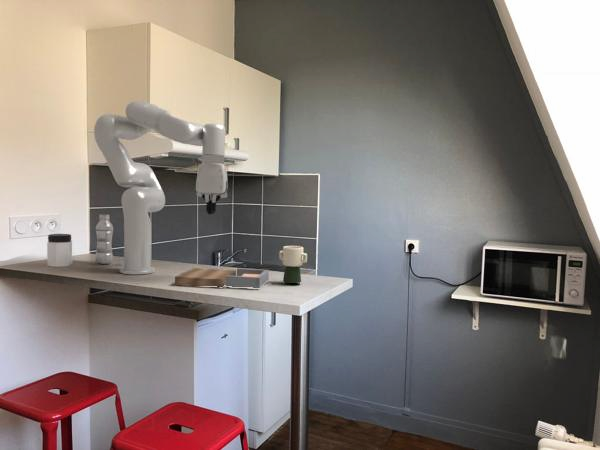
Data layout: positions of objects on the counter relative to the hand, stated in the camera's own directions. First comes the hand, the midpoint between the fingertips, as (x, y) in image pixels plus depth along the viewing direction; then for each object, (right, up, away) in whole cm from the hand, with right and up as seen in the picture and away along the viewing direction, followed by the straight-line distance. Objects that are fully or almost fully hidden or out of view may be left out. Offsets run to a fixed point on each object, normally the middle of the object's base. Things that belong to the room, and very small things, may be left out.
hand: (211, 213), depth 173 cm
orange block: (+14, -21, -3) cm, 26 cm away
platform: (-1, -24, -1) cm, 24 cm away
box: (+13, -24, -2) cm, 27 cm away
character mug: (+28, -25, +1) cm, 37 cm away
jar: (-63, -20, +22) cm, 70 cm away
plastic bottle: (-48, -20, +29) cm, 59 cm away
